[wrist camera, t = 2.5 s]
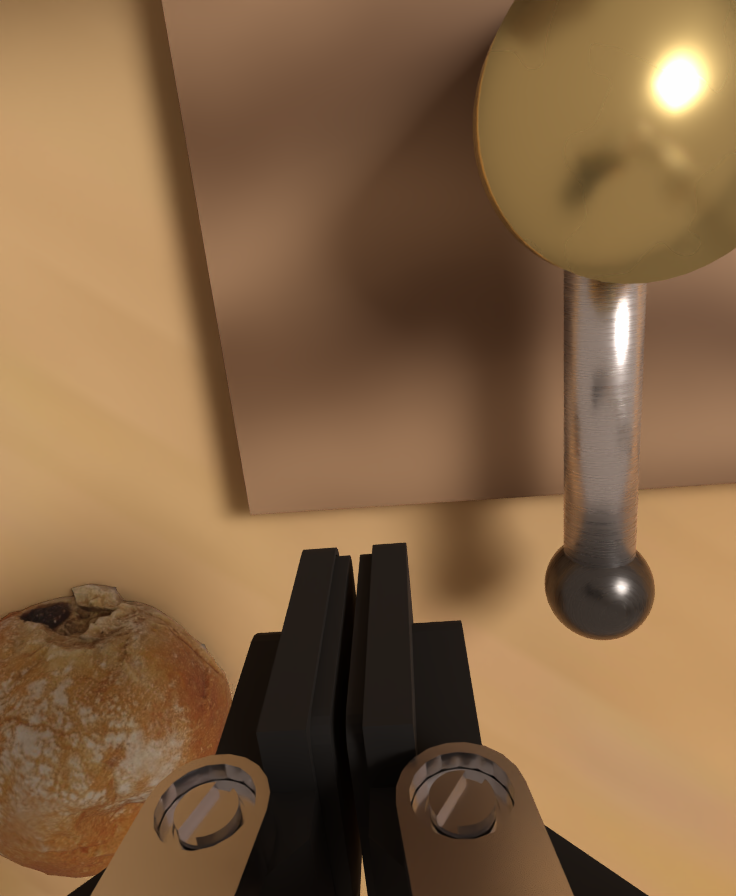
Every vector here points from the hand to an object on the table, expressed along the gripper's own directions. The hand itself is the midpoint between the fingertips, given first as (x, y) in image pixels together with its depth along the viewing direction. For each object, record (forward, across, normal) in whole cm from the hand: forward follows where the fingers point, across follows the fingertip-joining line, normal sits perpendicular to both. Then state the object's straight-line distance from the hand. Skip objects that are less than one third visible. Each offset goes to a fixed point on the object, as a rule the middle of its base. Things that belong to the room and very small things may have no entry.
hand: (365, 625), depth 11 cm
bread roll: (+12, +11, +11) cm, 19 cm away
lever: (+9, -6, -3) cm, 11 cm away
